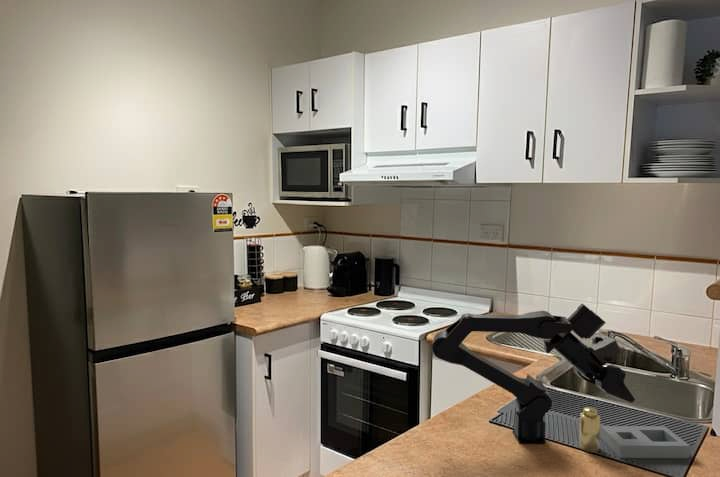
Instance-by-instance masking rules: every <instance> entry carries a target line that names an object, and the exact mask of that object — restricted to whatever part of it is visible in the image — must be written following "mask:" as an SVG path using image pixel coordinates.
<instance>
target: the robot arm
mask: <svg viewBox="0 0 720 477" xmlns="http://www.w3.org/2000/svg"><path fill="white" fill-rule="evenodd" d="M606 323H607V322H606V321H605V320H604V319H602V317H600V316H599V315H598V314H597V313H596V312H594V311H593V310H592V309H590V308H588V307H587V306H586V305H585V304H584V303H581V304H580V305H579V306H578V307H577V308H576V310H575V311H574V312H573V313H571V315H569V317H566V316H561V315H552V314H551V313H550V312H549V311H546V310H537V311H530V312H526V313H523V314H517V315H514V314H513V315H512V314H511V315H510V314H507V315H506V314H474V313H470V312H469V313H468V312H466V313H463V314H461V316H460V317H459V318H458V319H457V320H456V321H454V322H453V323H452V324H451V325H449V326H448V327H447V328H446V329H445V330H440V331H439V332H437V333H435V335H434V337H433V340H432V348H431V349H432V353H433V355H434V356H435V357H436V358H438V359H439V360H442V361H444V362H447V363H450V364H454V365H460V366H463V367H465V368H467V369H468V370H470V371H472V372H474V373H475V374H477V375H479V376H481V377H482V378H484V379H485V380H487V381H489V382H491V383H493V384H494V385H496V386H498V387H500V388H501V389H503V390H505V391H507V392H509V393H510V394H512V395H513V396H514V397H515V405H516V406H517V407H516V408H517V411H514V429H513V430H512V434H513V436H514V437H515V439H516V441H517V442H518V443H519V444H520V445H521V444H522V445H523V444H524V445H529V444H531V445H545V444H546V440H545V438H546V422H545V418H544V417H545V416H546V414H547V413H548V412H550V411H551V409H552V407H553V401H552V398H551V396H550V393H549V391H548V390H547V388H546V386H545V385H544V382H543V381H542V380H538V379H536V378H534V377H533V376H531V374H528V373H527V374H526V377H525V378H522V377H520V376H516V375H515V374H513V373H511V372H509V371H507V370H506V369H504V368H502V367H501V366H498V365H497V364H495V363H493V362H492V361H490V360H488V359H487V358H485V357H483V356H481V355H479V354H478V353H476V352H474V351H473V350H470V349H469V348H468V347H467V346H466V345H465V344H464V343H463V341H464V340H465V339H466V338H467V337H468V335H470V334H471V333H472V332H484V333H512V334H513V333H515V334H516V333H519V334H522V335H526V336H529V337H532V338H537V339H543V340H542V342H543V350H544V351H545V353H546V354H550V353H551V352H552V351H553V350H555V351H556V352H558V354H560V355H561V356H562V357H563V358H564V359H565V360H566V363H568V364H569V365H571V366H573V368H572V369H573V373H574V374H576V376H578V377H579V378H580V379H583V380H584V381H586V382H588V383H590V384H592V385H594V386H597V387H598V388H599V389H600V390H602V392H604V393H606V394H608V395H610V396H612V397H613V396H614V397H616V398H619V399H621V400H624V401H626V402H629V403H634V402H635V401H636V399H635V397H634V395H633V394H632V393H631V391H630V390H629V388H628V387H627V386H626V384H625V379H626V375H627V373H626V372H625V371H624V370H623V369H622V368H621V367H620V366H616V365H614V364H607V363H608V361H607V359H610V358H612V357H613V356H615V355H618V354H621V353H622V349H621V347H620V345H619V343H618V342H617V340H616V339H615V338H611V337H604V338H602V336H599V335H596V336H594V335H595V334H596V333H597V332H598V331H600V329H602V327H604V325H606ZM573 333H575V334H576V335H577V336H578V337H579V338H581V340H582V339H585V340H587V339H588V340H589V339H592V340H591V341H592V342H591V343H592V344H591V346H587V344H584V343H583V342H582V341H581V340H580V339H579V338H578V337H577V336H575V335H574V334H573ZM593 336H594V337H593ZM606 364H607V366H606ZM605 366H606V367H605Z"/></svg>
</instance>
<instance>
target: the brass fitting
mask: <svg viewBox="0 0 720 477" xmlns="http://www.w3.org/2000/svg"><path fill="white" fill-rule="evenodd" d="M600 431H601V416H600V415H599V414H598V410H597V408H594V407H592V406H591V407H590V406H585V407H584V408H583V411H582V412H580V414H579V433H578V435H579V437H578V438H579V439H578V440H579V441H578V447H579V449H581V450H582V451H585V452H589V453H596V452H599V450H600Z"/></svg>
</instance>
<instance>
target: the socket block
mask: <svg viewBox="0 0 720 477" xmlns="http://www.w3.org/2000/svg"><path fill="white" fill-rule="evenodd" d="M599 439H601V440H602V441H603V443H605V444H606V445H607V446H608V447H609V448H610V450H611V451H613V452H614V454H616V455H617V456H618V458H620V459H690V457H691V456H690V455H691V454H690V452H691V445H690V444H688V443H687V442H686V441H685V440H684V439H682V438H681V437H679V436H678V435H677V434H675V433H674V432H673V431H671V430H670V429H669V428H668V427H666V426H665V425H663V426H662V425H660V426H659V425H658V426H657V425H654V426H652V425H649V426H648V425H647V426H646V425H643V426H640V425H639V426H637V425H634V426H633V425H630V426H629V425H626V426H625V425H624V426H623V425H622V426H621V425H617V426H616V425H613V426H612V425H611V426H610V425H604V426H603V425H602V426H601V425H600V436H599Z"/></svg>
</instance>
